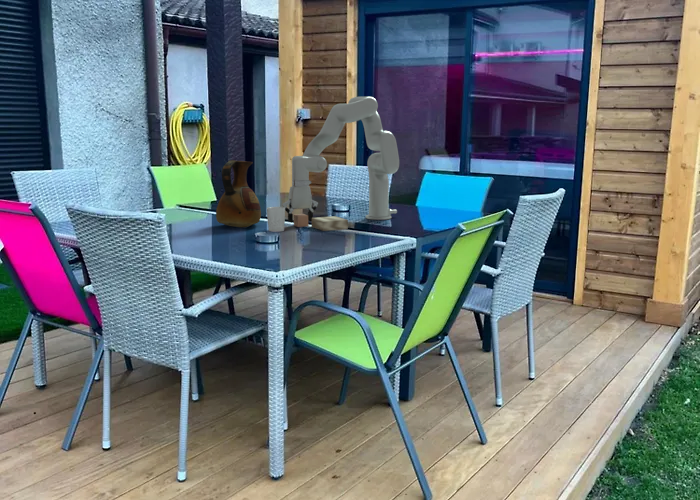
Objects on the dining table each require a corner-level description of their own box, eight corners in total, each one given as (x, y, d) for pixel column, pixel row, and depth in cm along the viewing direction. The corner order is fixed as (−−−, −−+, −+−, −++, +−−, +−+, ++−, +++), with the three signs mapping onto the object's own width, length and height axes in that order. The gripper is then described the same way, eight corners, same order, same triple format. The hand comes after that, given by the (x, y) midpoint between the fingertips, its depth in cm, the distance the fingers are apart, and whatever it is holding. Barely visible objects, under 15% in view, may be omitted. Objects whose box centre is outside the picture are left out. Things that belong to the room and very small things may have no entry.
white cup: (282, 232, 289) (282, 209, 287) (264, 231, 291) (264, 208, 289) (287, 229, 297) (287, 207, 295) (270, 228, 298) (270, 206, 296)
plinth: (335, 224, 310) (335, 216, 309) (347, 228, 299) (347, 219, 298) (311, 226, 304) (311, 218, 303) (323, 230, 294) (323, 221, 293)
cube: (303, 224, 310) (303, 213, 309) (308, 226, 306) (308, 215, 305) (293, 225, 308) (293, 214, 307) (298, 227, 303) (298, 216, 302)
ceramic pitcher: (269, 225, 308) (268, 159, 302) (244, 232, 290) (242, 162, 284) (233, 222, 316) (231, 157, 310) (207, 228, 298) (204, 160, 292)
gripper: (314, 182, 310) (314, 219, 314) (279, 183, 302) (279, 221, 305) (321, 183, 304) (321, 221, 307) (286, 185, 296) (286, 223, 299)
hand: (300, 221), depth 306 cm, fingers open, 9 cm apart
